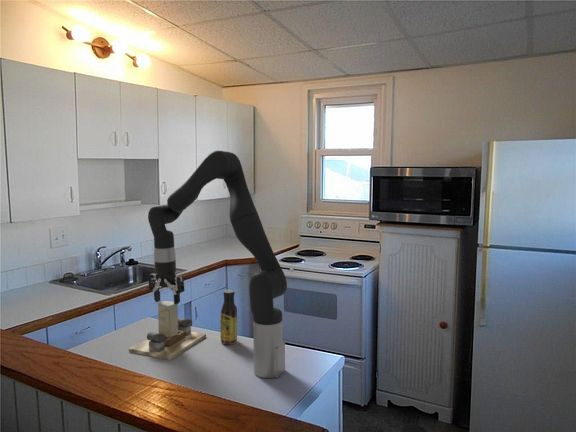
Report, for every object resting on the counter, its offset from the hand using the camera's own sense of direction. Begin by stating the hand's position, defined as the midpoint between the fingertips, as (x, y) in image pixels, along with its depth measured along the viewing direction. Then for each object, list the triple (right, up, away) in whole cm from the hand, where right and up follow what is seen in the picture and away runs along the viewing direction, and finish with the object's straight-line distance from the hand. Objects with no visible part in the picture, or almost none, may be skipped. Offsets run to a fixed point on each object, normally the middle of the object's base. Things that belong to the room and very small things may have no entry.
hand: (167, 302), depth 166 cm
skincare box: (0, -12, +2) cm, 12 cm away
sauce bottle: (+22, -16, +3) cm, 28 cm away
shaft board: (0, -16, +2) cm, 16 cm away
